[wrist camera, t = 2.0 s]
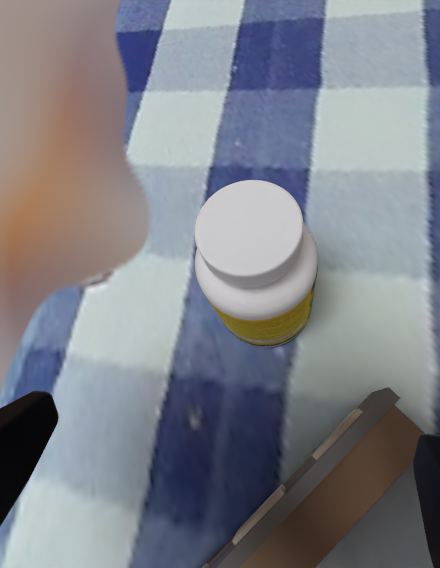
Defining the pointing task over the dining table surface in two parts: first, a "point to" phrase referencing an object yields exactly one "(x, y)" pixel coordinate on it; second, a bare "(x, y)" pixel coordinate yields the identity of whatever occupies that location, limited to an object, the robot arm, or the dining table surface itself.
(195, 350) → the dining table surface
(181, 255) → the dining table surface
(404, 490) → the dining table surface
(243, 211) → the supplement bottle
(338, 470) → the rail
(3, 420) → the robot arm
